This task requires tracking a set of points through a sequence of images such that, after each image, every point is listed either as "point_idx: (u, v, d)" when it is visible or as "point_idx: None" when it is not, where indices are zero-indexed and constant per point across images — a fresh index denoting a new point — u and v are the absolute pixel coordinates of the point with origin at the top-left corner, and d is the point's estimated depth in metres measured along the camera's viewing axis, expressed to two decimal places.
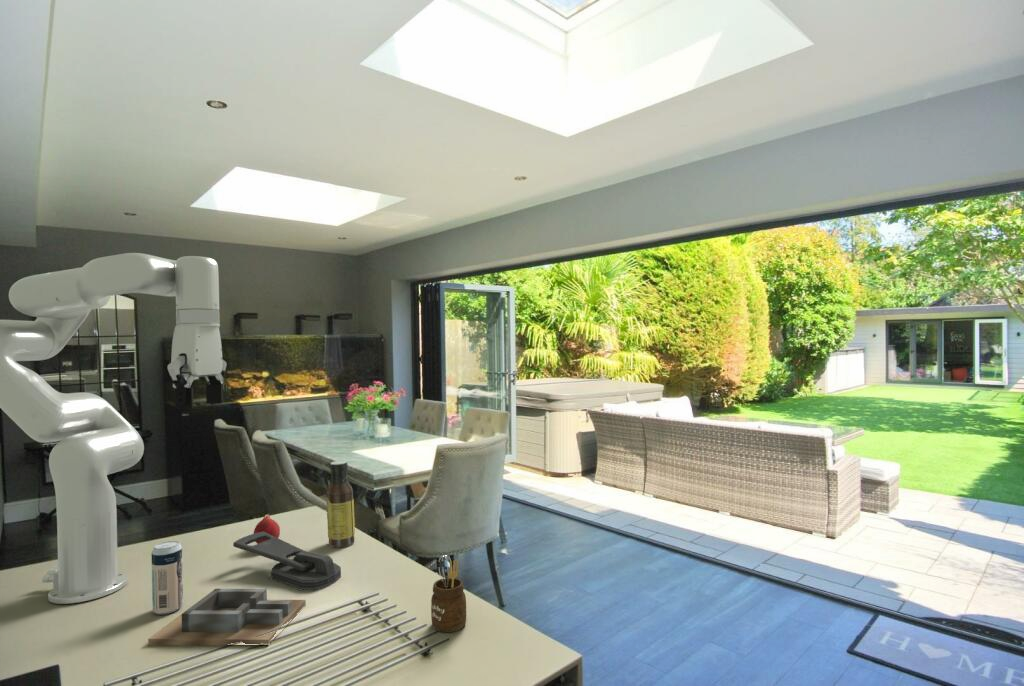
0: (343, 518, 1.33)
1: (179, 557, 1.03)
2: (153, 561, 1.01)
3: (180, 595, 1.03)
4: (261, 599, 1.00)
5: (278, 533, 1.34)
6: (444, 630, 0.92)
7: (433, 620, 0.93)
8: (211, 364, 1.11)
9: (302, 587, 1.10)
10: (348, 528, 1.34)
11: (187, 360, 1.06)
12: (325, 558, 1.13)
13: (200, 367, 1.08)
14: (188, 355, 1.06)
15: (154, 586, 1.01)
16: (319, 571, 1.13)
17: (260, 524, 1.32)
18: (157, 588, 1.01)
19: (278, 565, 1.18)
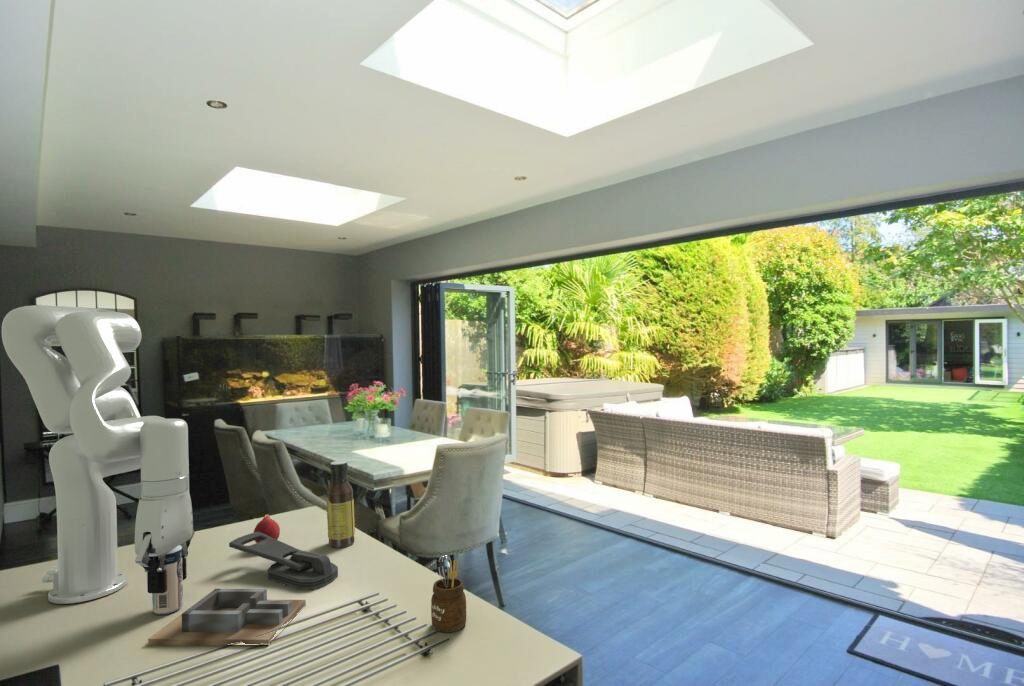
0: (343, 518, 1.33)
1: (179, 557, 1.03)
2: None
3: (180, 595, 1.03)
4: (261, 599, 1.00)
5: (278, 533, 1.34)
6: (444, 630, 0.92)
7: (433, 620, 0.93)
8: (179, 534, 1.03)
9: (299, 587, 1.10)
10: (348, 528, 1.34)
11: (152, 539, 0.98)
12: (322, 558, 1.13)
13: (166, 543, 1.00)
14: (153, 534, 0.98)
15: None
16: (316, 570, 1.13)
17: (260, 524, 1.32)
18: None
19: (274, 565, 1.18)
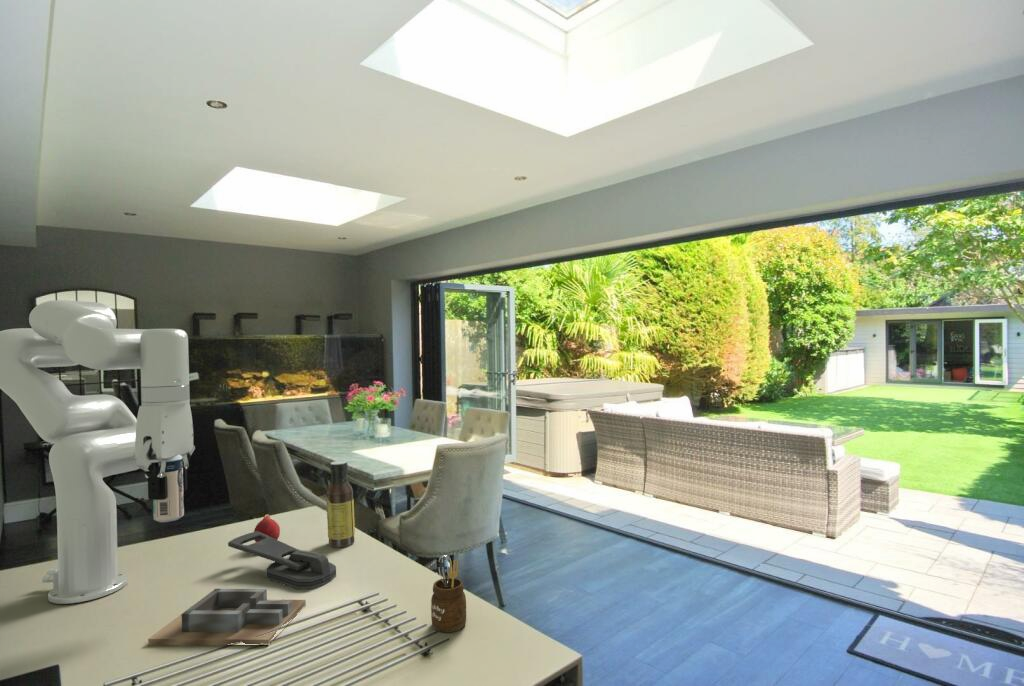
0: (343, 518, 1.33)
1: (180, 466, 1.03)
2: None
3: (181, 504, 1.03)
4: (261, 599, 1.00)
5: (278, 533, 1.34)
6: (444, 630, 0.92)
7: (433, 620, 0.93)
8: (180, 444, 1.03)
9: (297, 586, 1.11)
10: (348, 528, 1.34)
11: (152, 443, 0.98)
12: (320, 557, 1.14)
13: (167, 450, 1.00)
14: (153, 438, 0.98)
15: None
16: (315, 570, 1.13)
17: (260, 524, 1.32)
18: None
19: (273, 564, 1.18)
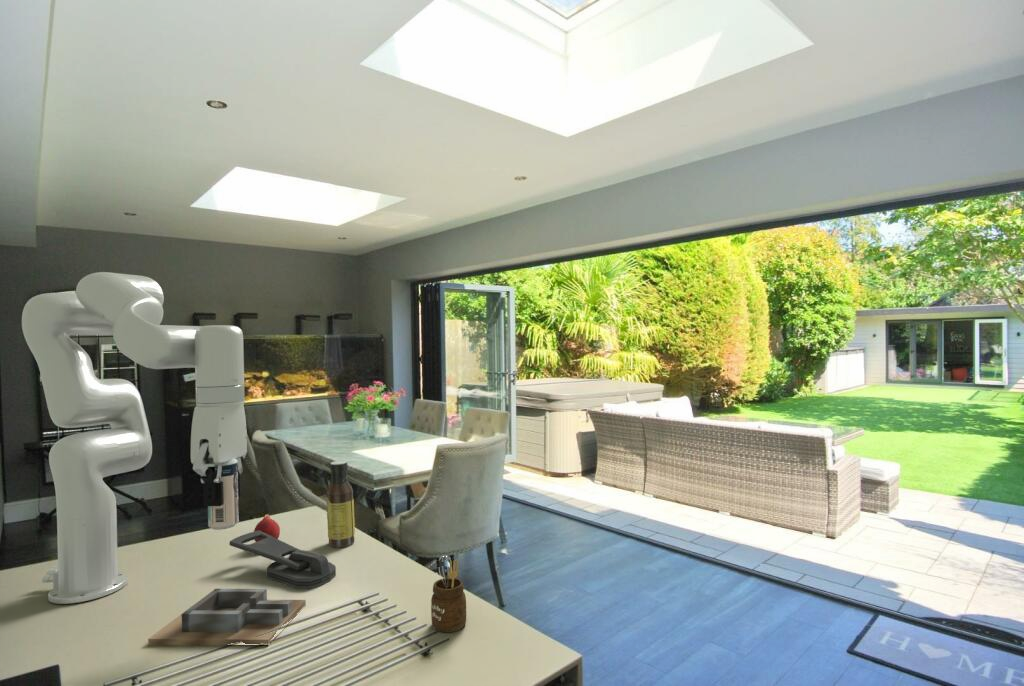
0: (343, 518, 1.33)
1: (235, 470, 0.97)
2: None
3: (236, 511, 0.97)
4: (261, 599, 1.00)
5: (278, 533, 1.34)
6: (444, 630, 0.92)
7: (433, 620, 0.93)
8: (235, 447, 0.98)
9: (297, 586, 1.11)
10: (348, 528, 1.34)
11: (209, 447, 0.92)
12: (320, 557, 1.14)
13: (223, 453, 0.94)
14: (210, 441, 0.92)
15: None
16: (314, 570, 1.13)
17: (260, 524, 1.32)
18: None
19: (273, 564, 1.18)
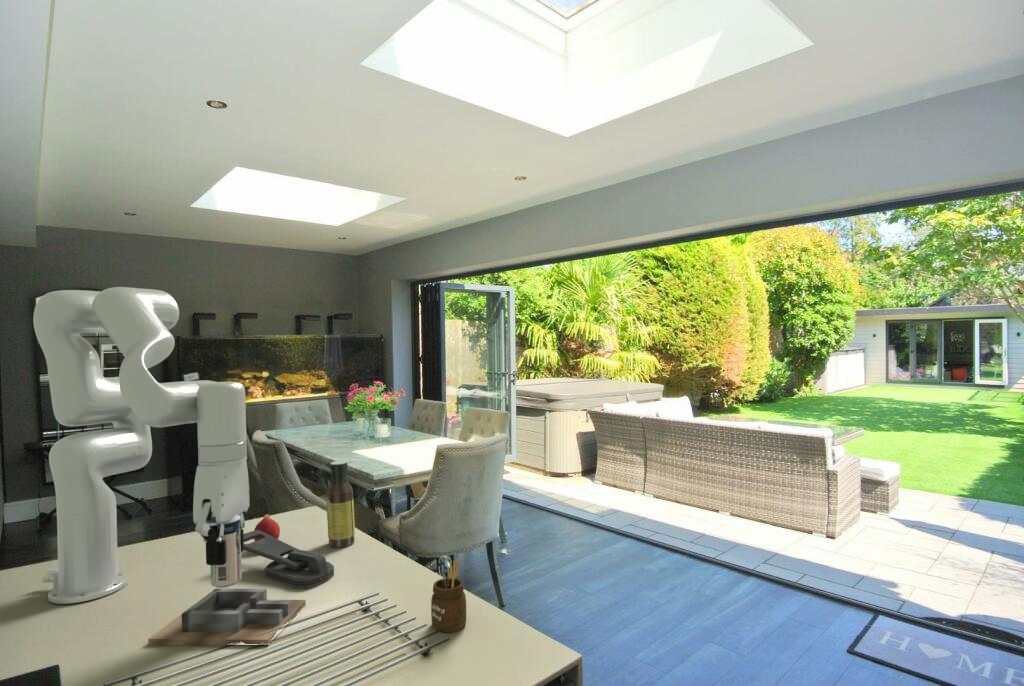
0: (343, 518, 1.33)
1: (238, 527, 0.97)
2: None
3: (239, 567, 0.97)
4: (261, 599, 1.00)
5: (278, 533, 1.34)
6: (444, 630, 0.92)
7: (433, 620, 0.93)
8: (238, 504, 0.97)
9: (295, 585, 1.11)
10: (348, 528, 1.34)
11: (211, 507, 0.92)
12: (318, 557, 1.14)
13: (226, 512, 0.94)
14: (213, 501, 0.92)
15: None
16: (312, 569, 1.14)
17: (260, 524, 1.32)
18: None
19: (272, 563, 1.19)
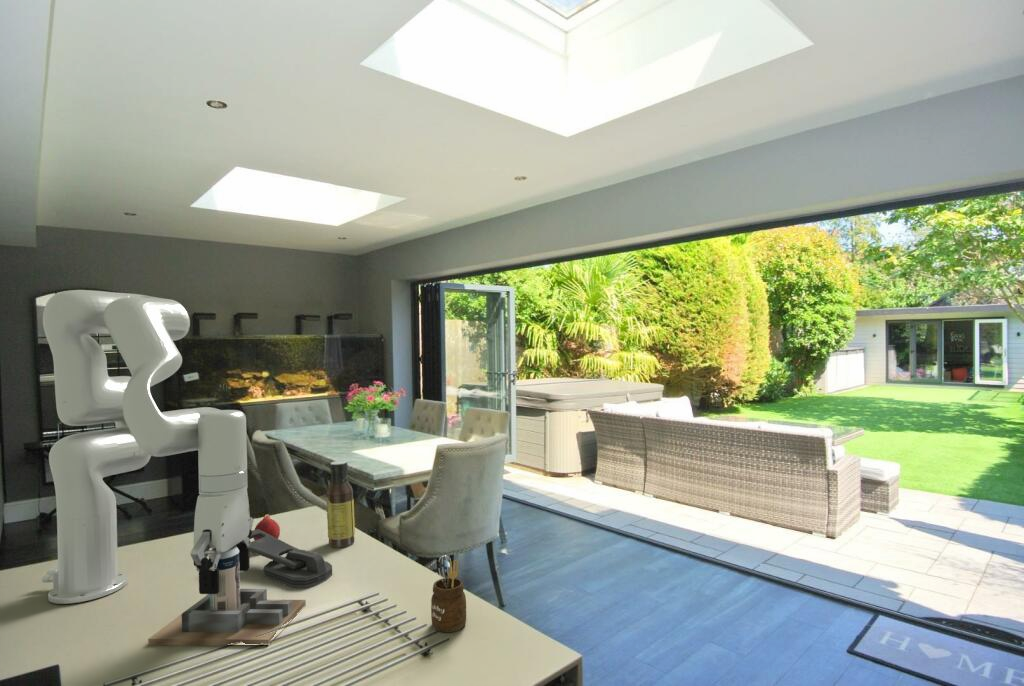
0: (343, 518, 1.33)
1: (237, 561, 0.97)
2: None
3: (238, 601, 0.97)
4: (261, 599, 1.00)
5: (278, 533, 1.34)
6: (444, 630, 0.92)
7: (433, 620, 0.93)
8: (238, 532, 0.97)
9: (293, 585, 1.11)
10: (348, 528, 1.34)
11: (212, 537, 0.92)
12: (316, 556, 1.14)
13: (226, 542, 0.94)
14: (213, 532, 0.92)
15: None
16: (310, 569, 1.14)
17: (260, 524, 1.32)
18: (216, 594, 0.95)
19: (271, 563, 1.19)
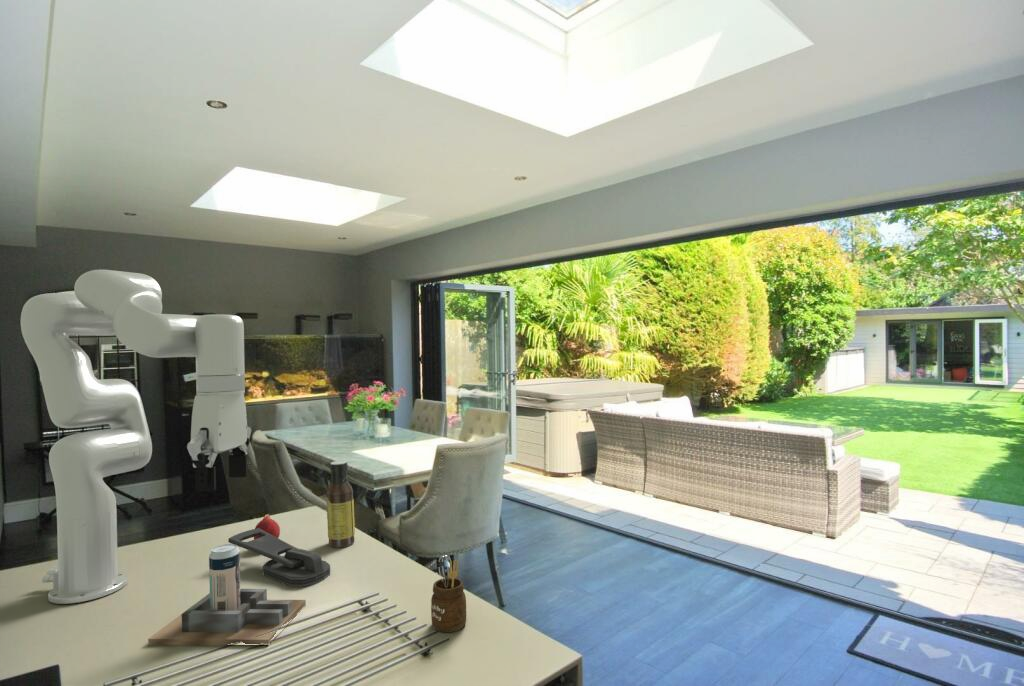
0: (343, 518, 1.33)
1: (237, 561, 0.97)
2: (211, 565, 0.96)
3: (238, 601, 0.97)
4: (261, 599, 1.00)
5: (278, 533, 1.34)
6: (444, 630, 0.92)
7: (433, 620, 0.93)
8: (235, 436, 0.98)
9: (290, 584, 1.12)
10: (348, 528, 1.34)
11: (209, 435, 0.93)
12: (314, 556, 1.14)
13: (223, 442, 0.94)
14: (210, 430, 0.93)
15: (212, 592, 0.95)
16: (308, 568, 1.14)
17: (260, 524, 1.32)
18: (216, 594, 0.95)
19: (270, 562, 1.20)
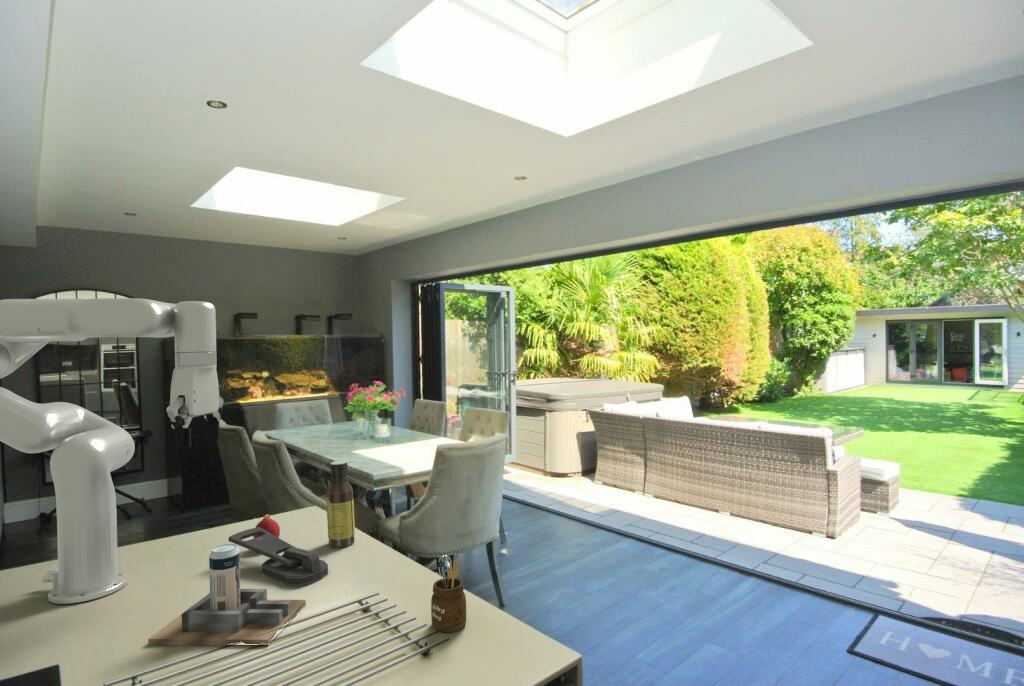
0: (343, 518, 1.33)
1: (237, 561, 0.97)
2: (211, 565, 0.96)
3: (238, 601, 0.97)
4: (261, 599, 1.00)
5: (278, 533, 1.34)
6: (444, 630, 0.92)
7: (433, 620, 0.93)
8: (208, 403, 1.16)
9: (288, 583, 1.12)
10: (348, 528, 1.34)
11: (185, 401, 1.11)
12: (311, 555, 1.15)
13: (198, 407, 1.13)
14: (186, 397, 1.11)
15: (212, 592, 0.95)
16: (306, 568, 1.15)
17: (260, 524, 1.32)
18: (216, 594, 0.95)
19: (269, 560, 1.20)
